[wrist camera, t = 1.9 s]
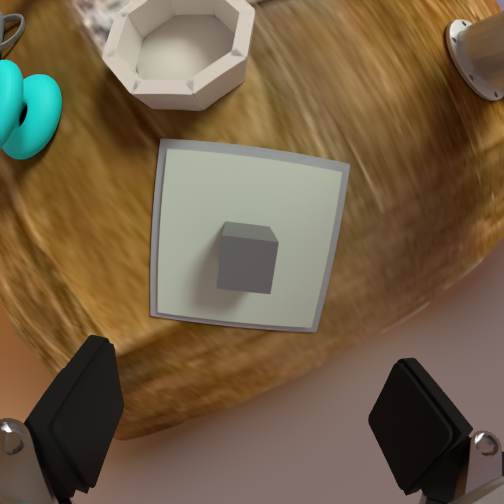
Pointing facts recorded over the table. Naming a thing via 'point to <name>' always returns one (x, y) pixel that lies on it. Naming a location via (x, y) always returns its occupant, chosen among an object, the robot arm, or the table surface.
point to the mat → (249, 152)
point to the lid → (244, 237)
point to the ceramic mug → (0, 27)
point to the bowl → (180, 50)
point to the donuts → (38, 115)
